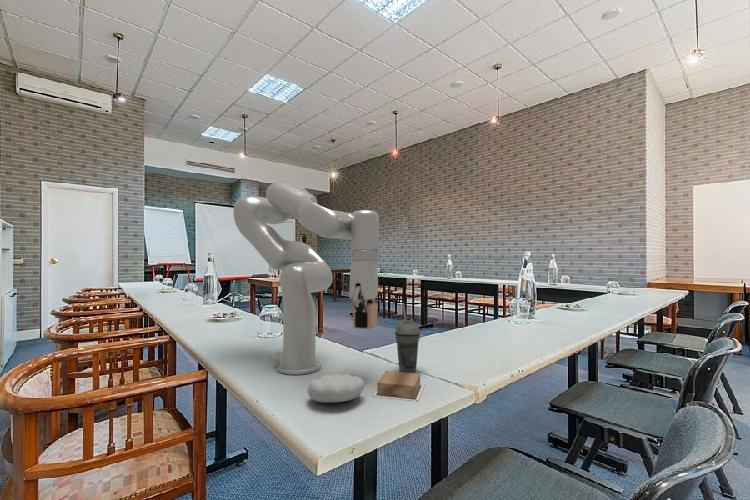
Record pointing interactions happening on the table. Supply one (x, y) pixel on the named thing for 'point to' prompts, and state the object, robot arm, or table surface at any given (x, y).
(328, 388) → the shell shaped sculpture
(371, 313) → the terracotta block
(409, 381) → the walnut slab
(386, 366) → the table surface
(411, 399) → the pale flat square plate
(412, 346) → the beverage cup
